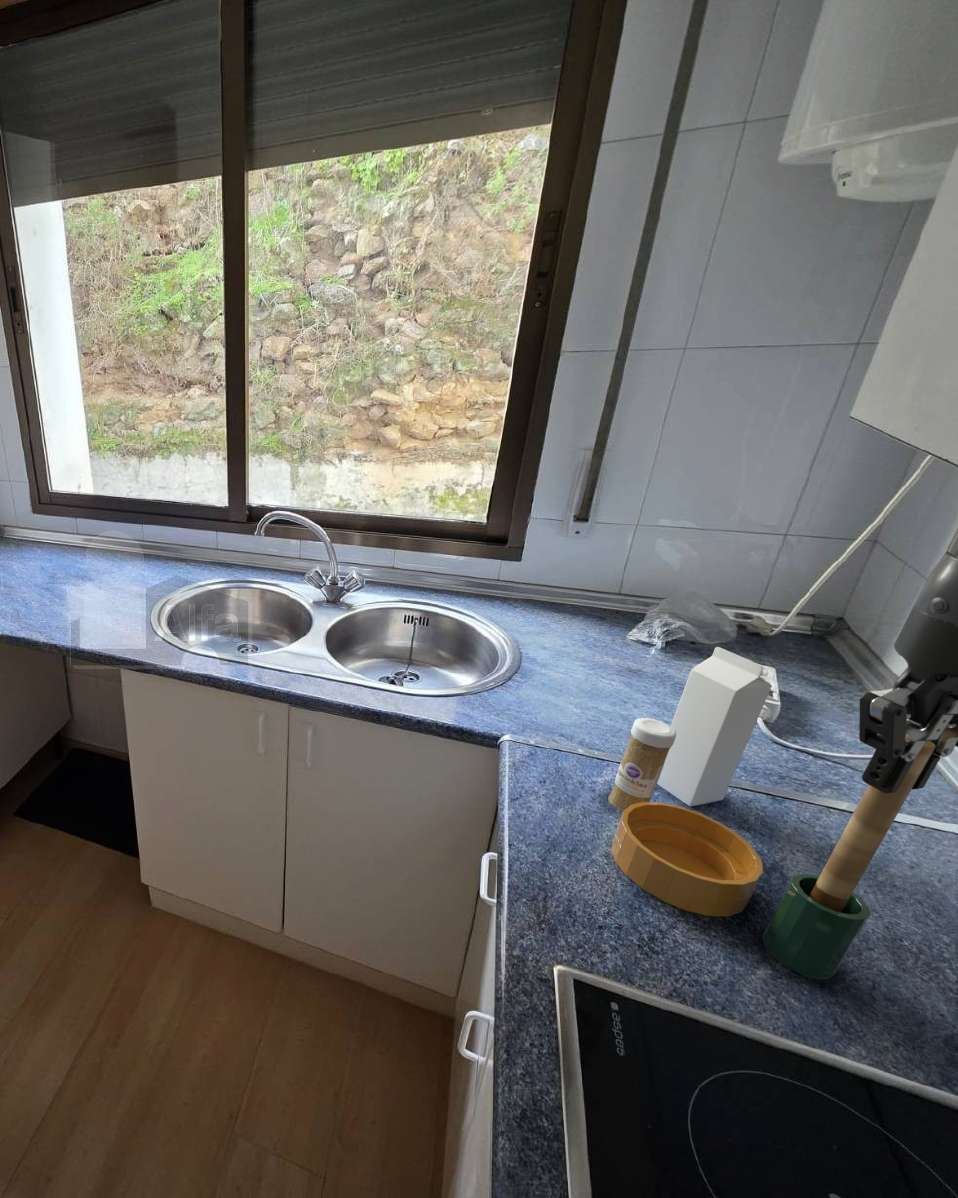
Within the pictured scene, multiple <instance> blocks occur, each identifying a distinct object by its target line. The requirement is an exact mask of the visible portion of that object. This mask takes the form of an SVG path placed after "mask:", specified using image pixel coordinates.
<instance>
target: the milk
mask: <svg viewBox="0 0 958 1198" xmlns="http://www.w3.org/2000/svg"><path fill="white" fill-rule="evenodd" d="M763 670H764V667H763V665H762V664H759V663H757V662H755V661H753V660H750V659H747V658H745V657H743V656H741V655H738V654H737V653H734V652H732V651H729V650H727V649H725V648H723V647H720V646H716V647H715V648H714V650H713V653H712V655H711V656H710V657H708V658H707V659H705V660H703V661H702V662H700V663H698V664H697V665H696V666H694V667H692V668H691V669H690V673H689V675H688V678H687V681H686V684H685V685H684V688H683V692H682V694H681V697H680V699H679V702H678V705H677V708H676V711H675V713H674V716H673V718H672V722H671V724H670V726H671V727H672V728H673V729H674V730H675V731H676V738H675V741H674V744H673V746H672V747H671V748H670V749H669V752H668V754H667V757H666V759H665V762H664V766H663V769H662V772H661V774H660V777H659V779H658V782H657V785H658V786H659V787H660V788H662V789H663V790H664V791H666V792H668V793H669V794H671V795H672V796H673V797H675V798H677V799H678V800H680V802H683V803H684V804H686V805H687V806H688V807H694V806H699V805H700V806H701V805H704V804H709V803H710V804H711V803H715V802H719V801H723V800H724V799H725V796H726V794H727V791H728V789H729V787H730V786H731V783H732V780H733V778H734V776H735V773H736V770H737V768H738V767H739V764H740V762H741V759H742V757H743V754H744V752H745V750H746V747H747V745H748V743H749V740H750V738H751V736H752V734H753V731H754V729H755V726H756V724H757V721H758V719H759V717H760V715H761V712H762V710H763V708H764V705H765V703H766V701H767V698H768V696H769V694H770V691H771V689H772V687H773V685H772V684H771V683H769V682H768V681H767V680H765V679H764V678H762V677H761V675H762V673H763Z"/></svg>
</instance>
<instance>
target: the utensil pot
mask: <svg viewBox="0 0 958 1198" xmlns="http://www.w3.org/2000/svg"><path fill="white" fill-rule="evenodd" d="M819 876H820V875H817V874H812V873H796V874H795V875H794V876H792V877H791V878H790V881H789V882H788V884H787V886H786V888H785V890H784V891H783V894H782V896H781V897H780V900H779V902H778V904H777V906H776V908H775V910H774V912H773V913H772V916H771V918H770V919H769V922H768V924H767V925H766V927H765V929H764V932H763V933H762V937H761V940H762V944H763V946H764V948H765V949H766V951H768V953H769V954H770V955H771V956H773V958H774V959H775V960H776V961H778V962H779V963H780V964H782V965H783V966H785V967H787V968H789V969H790V970H792V971H794V972H796V973H798V974H801V975H803V976H805V977H809V978H812V979H818V980H828V979H831V978H833V977H834V976H835V975H836V974H837V972H838V970H839V968H840V967H841V965H842V963H843V962H844V960H845V958H846V956H847V955H848V953H849V952H850V950H851V948H852V947H853V945H854V943H855V942H856V940H857V938H858V937H859V935H860V933H861V931H862V930H863V928H864V926H865V925H866V923H867V921H868V920H869V918H870V916H871V909H870V907H869V906H868V904H867V902H865V900H864V899H862V898H861V897H860V896H859V895H858V894H857V893H856V892H854V891H853V893H852V895H851V896H850V898H849V900H848V902H847V903H846V905H845V907H844V909H843V910H842V912H841V913H840V912H836V911H834V910H831V909H829V908H827V907H824V906H822V905H821V904H819V903H817V902H815V901H814V900H812V899H811V898H810V897H809V895H810V893H811V891H812V890H813V888H814V886H815V884H816V882H817V880H818V878H819Z"/></svg>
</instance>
